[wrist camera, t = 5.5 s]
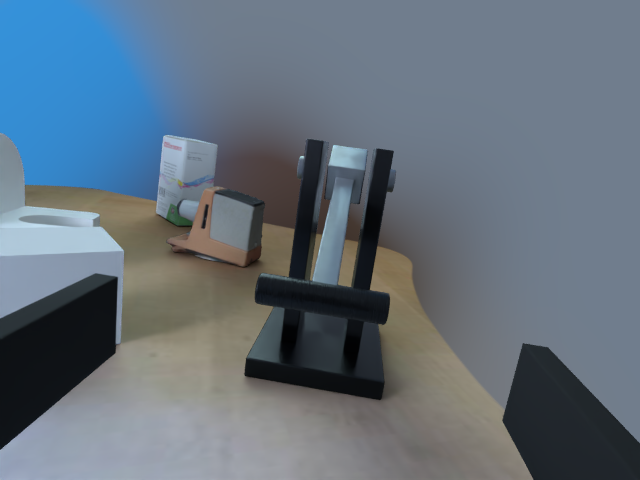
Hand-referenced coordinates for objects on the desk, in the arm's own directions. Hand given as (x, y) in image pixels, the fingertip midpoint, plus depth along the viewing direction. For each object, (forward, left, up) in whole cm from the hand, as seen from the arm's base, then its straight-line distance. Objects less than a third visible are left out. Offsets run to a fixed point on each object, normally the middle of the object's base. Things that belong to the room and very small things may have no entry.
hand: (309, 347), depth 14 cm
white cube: (+17, +9, -7) cm, 21 cm away
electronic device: (+34, -4, -7) cm, 35 cm away
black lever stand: (+12, -7, -7) cm, 16 cm away
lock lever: (+9, -5, +2) cm, 10 cm away
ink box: (+52, -3, -7) cm, 53 cm away
